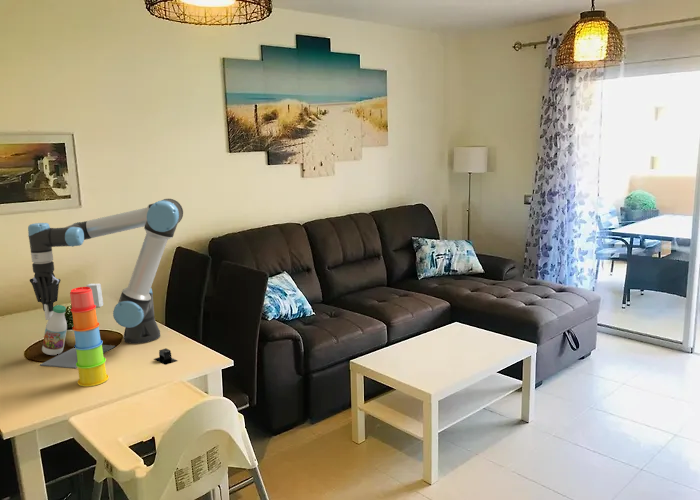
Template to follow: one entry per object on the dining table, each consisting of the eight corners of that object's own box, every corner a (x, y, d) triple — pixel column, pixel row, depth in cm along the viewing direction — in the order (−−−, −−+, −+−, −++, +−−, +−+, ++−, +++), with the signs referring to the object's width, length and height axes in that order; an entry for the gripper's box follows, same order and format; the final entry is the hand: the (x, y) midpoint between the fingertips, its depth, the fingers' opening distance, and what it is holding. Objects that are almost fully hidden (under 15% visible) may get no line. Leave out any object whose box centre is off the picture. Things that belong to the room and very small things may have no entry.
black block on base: (182, 362, 219) (181, 351, 219) (165, 368, 214) (164, 356, 213) (165, 355, 228) (165, 344, 227) (149, 360, 223) (148, 349, 222)
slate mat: (115, 346, 237) (115, 345, 237) (75, 368, 214) (75, 367, 214) (82, 344, 241) (82, 343, 241) (40, 365, 218) (39, 364, 218)
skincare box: (103, 305, 303) (101, 283, 301) (99, 307, 298) (97, 285, 296) (92, 305, 303) (90, 283, 301) (88, 307, 299) (85, 285, 297)
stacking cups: (114, 380, 203) (104, 286, 196) (85, 389, 195) (74, 292, 189) (101, 373, 209) (91, 282, 203) (72, 381, 202) (61, 288, 196)
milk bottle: (43, 345, 232) (50, 301, 227) (63, 347, 236) (71, 304, 231) (40, 354, 226) (47, 310, 221) (61, 356, 229) (69, 312, 224)
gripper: (21, 263, 222) (29, 320, 226) (49, 264, 218) (56, 322, 223) (36, 259, 229) (43, 315, 233) (63, 260, 226) (69, 317, 230)
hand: (49, 318), depth 228 cm, fingers closed
